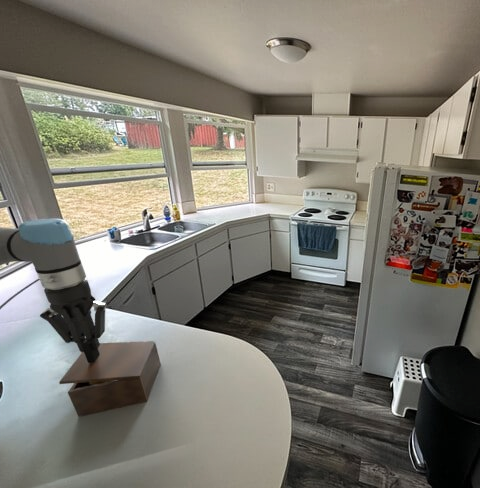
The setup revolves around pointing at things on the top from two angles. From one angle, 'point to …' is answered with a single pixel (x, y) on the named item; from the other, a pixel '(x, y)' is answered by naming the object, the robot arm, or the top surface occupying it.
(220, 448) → the top surface
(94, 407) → the bin
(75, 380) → the bin lid
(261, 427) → the top surface
